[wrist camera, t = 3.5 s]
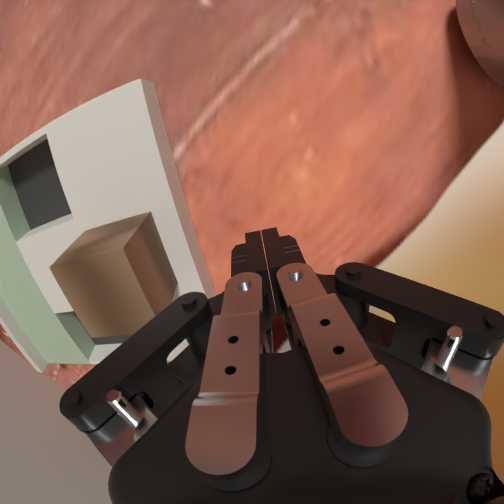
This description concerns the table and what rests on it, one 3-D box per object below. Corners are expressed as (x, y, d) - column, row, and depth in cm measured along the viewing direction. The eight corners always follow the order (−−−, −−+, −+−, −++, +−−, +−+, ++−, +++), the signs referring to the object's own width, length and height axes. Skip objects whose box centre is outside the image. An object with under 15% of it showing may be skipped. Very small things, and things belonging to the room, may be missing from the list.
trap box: (154, 82, 14) (130, 75, 10) (229, 332, 23) (228, 369, 20) (-31, 190, 15) (-57, 206, 12) (51, 347, 25) (38, 372, 21)
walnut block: (150, 211, 15) (122, 247, 11) (177, 282, 18) (163, 331, 14) (85, 230, 15) (49, 267, 12) (115, 293, 18) (91, 337, 14)
